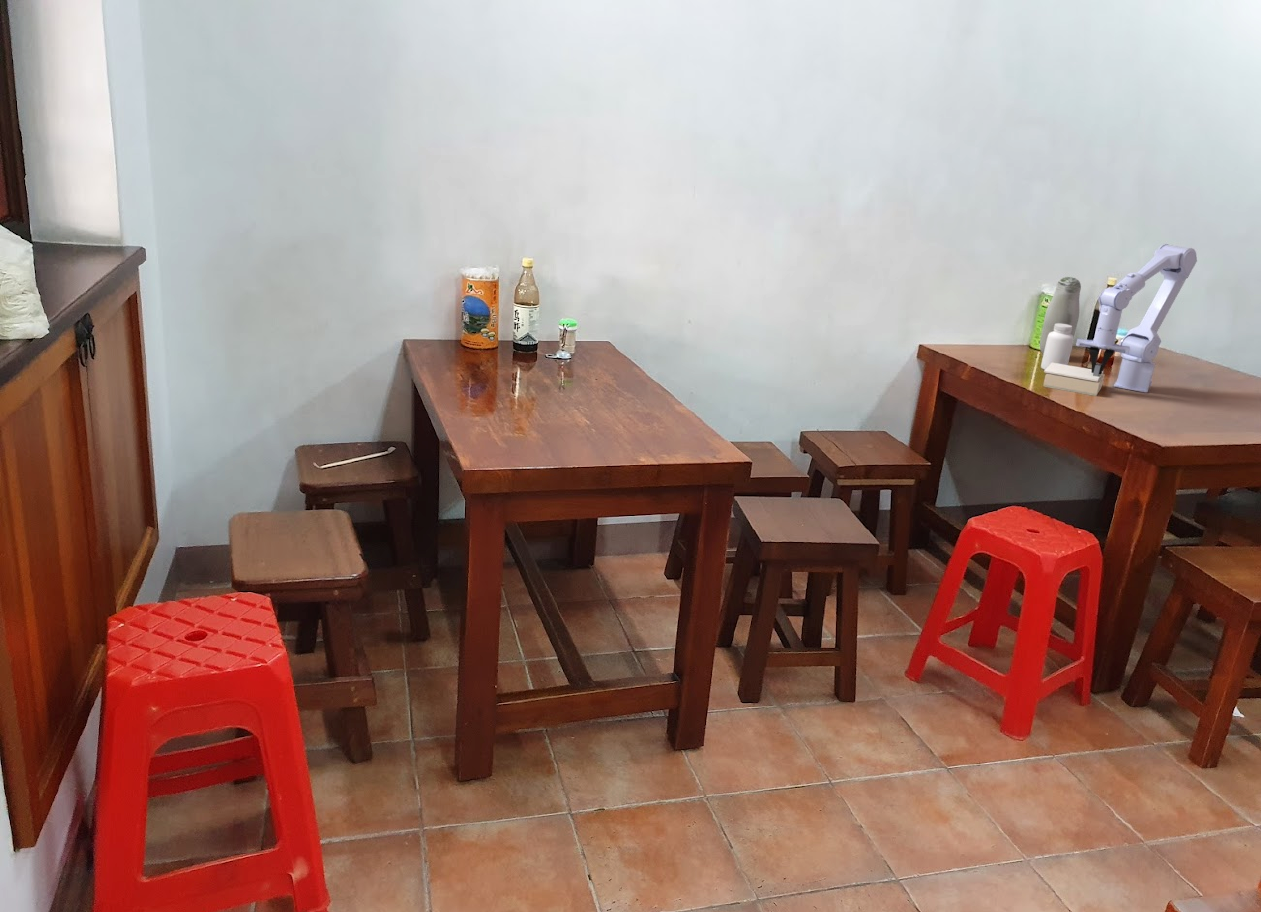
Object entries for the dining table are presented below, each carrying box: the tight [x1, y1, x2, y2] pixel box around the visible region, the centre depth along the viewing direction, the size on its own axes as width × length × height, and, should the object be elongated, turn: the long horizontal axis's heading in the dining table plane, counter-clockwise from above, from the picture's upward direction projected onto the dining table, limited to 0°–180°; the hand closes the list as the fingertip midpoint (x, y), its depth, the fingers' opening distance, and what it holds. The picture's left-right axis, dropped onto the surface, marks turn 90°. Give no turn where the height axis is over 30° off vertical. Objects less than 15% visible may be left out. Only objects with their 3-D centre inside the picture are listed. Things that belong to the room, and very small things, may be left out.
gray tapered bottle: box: [1039, 276, 1082, 355], centre depth 324 cm, size 10×10×28 cm
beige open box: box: [1042, 373, 1106, 397], centre depth 293 cm, size 15×14×4 cm
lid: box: [1043, 362, 1104, 382], centre depth 292 cm, size 15×14×4 cm
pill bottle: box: [1040, 323, 1075, 370], centre depth 310 cm, size 8×8×15 cm
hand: (1096, 372), depth 289 cm, fingers closed on lid
